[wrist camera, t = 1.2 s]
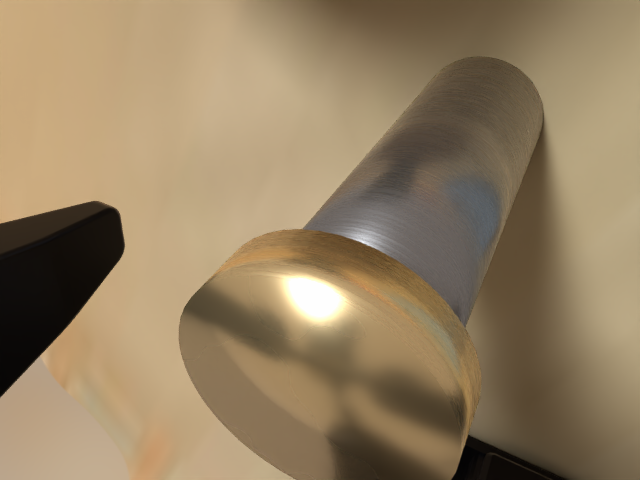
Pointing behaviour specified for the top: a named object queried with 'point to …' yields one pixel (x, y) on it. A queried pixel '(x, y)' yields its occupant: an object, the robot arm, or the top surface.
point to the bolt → (372, 295)
